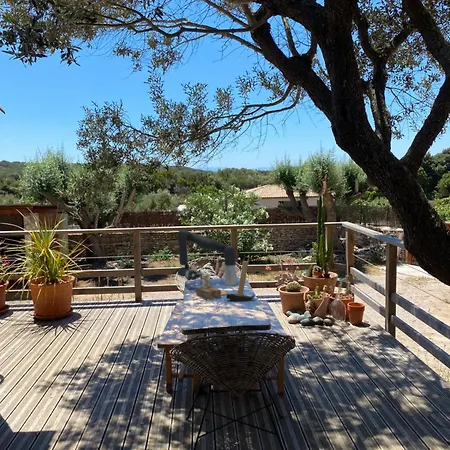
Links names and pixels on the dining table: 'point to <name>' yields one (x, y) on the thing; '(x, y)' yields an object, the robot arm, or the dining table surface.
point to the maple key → (205, 281)
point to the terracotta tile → (223, 293)
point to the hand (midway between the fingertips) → (200, 277)
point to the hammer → (241, 286)
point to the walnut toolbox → (208, 292)
